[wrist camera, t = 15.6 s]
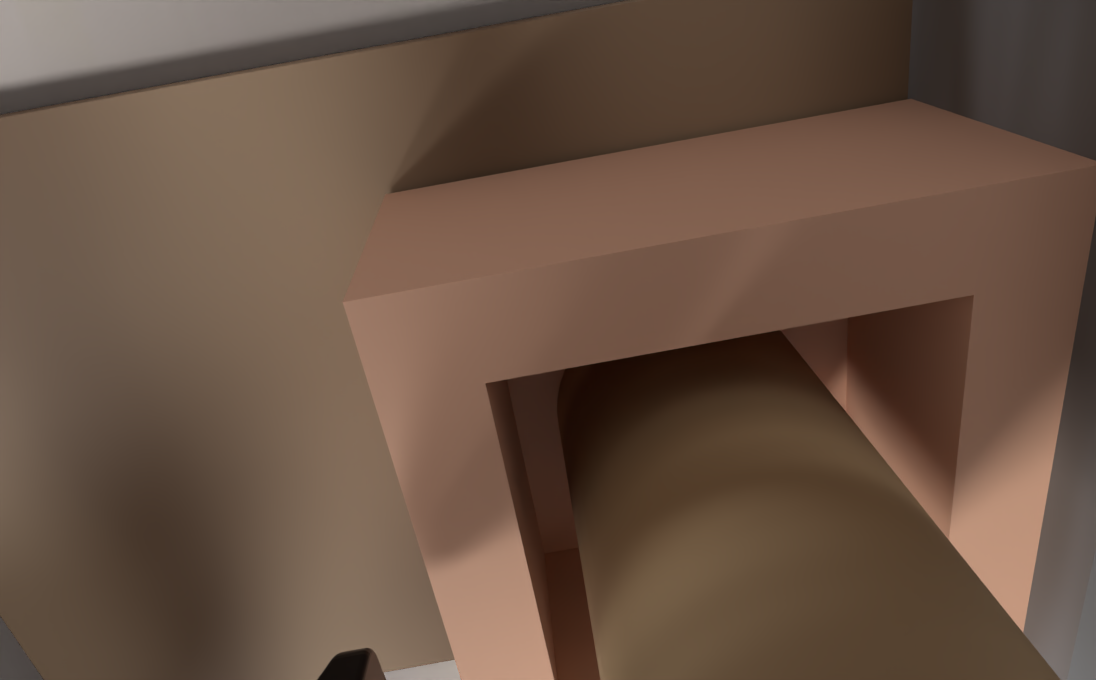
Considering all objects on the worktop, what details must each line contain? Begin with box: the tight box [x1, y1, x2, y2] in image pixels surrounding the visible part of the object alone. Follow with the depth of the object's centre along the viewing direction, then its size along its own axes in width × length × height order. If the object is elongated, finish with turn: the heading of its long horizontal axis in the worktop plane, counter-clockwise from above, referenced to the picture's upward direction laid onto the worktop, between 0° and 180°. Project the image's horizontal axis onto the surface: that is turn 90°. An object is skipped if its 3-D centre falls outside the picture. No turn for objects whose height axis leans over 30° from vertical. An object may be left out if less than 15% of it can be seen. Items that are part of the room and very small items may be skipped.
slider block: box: [343, 99, 1096, 680], centre depth 12 cm, size 8×8×4 cm
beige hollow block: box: [0, 0, 1096, 680], centre depth 11 cm, size 20×12×6 cm, turn 99°
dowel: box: [557, 330, 1061, 680], centre depth 8 cm, size 4×4×10 cm
